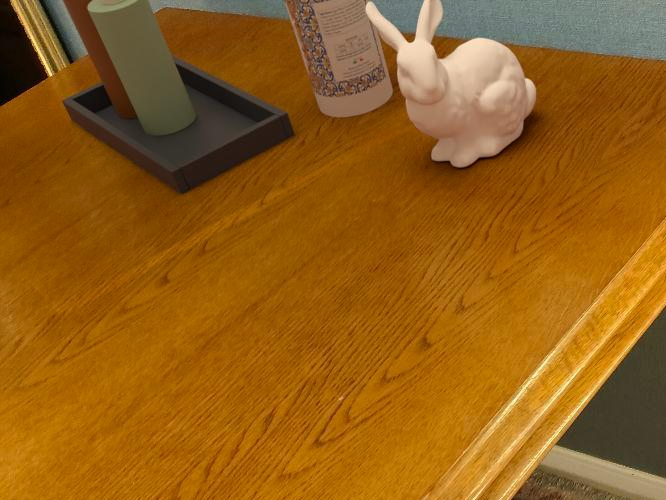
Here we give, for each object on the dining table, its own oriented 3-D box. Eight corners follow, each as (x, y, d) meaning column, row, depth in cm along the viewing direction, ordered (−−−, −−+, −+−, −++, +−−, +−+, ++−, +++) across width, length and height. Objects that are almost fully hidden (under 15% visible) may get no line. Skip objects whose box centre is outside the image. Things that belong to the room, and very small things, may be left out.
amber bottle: (131, 124, 95) (61, -23, 85) (109, 110, 98) (39, -33, 88) (176, 102, 97) (113, -44, 87) (154, 89, 99) (90, -54, 90)
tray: (185, 202, 85) (171, 171, 83) (75, 128, 98) (61, 100, 96) (298, 142, 89) (287, 112, 87) (178, 79, 102) (166, 51, 100)
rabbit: (446, 187, 80) (409, 33, 71) (384, 152, 85) (342, 4, 76) (562, 124, 84) (540, -30, 75) (495, 94, 89) (468, -53, 80)
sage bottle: (159, 141, 91) (89, -9, 82) (135, 127, 94) (66, -20, 85) (205, 118, 93) (143, -32, 83) (181, 104, 96) (118, -42, 86)
